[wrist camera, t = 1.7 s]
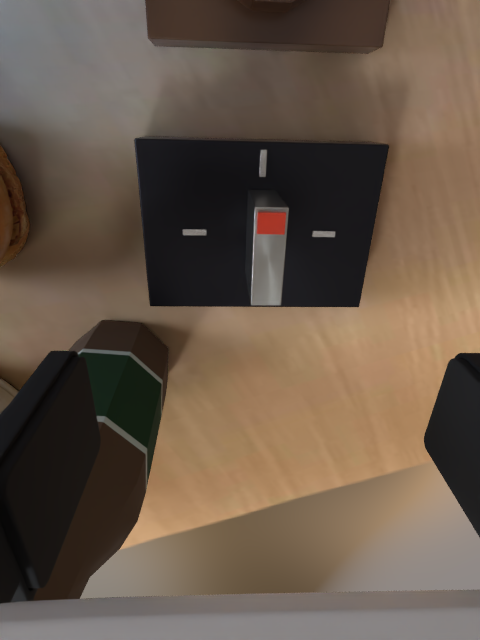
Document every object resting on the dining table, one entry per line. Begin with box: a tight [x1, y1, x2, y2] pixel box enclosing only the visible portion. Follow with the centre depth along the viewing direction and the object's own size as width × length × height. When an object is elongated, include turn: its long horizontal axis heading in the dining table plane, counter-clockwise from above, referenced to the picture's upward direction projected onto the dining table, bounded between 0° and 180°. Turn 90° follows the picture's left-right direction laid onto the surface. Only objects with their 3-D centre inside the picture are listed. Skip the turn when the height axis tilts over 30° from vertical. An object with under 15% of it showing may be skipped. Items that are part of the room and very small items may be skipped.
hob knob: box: [245, 190, 289, 305], centre depth 21 cm, size 5×2×5 cm, turn 179°
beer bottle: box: [33, 320, 169, 601], centre depth 20 cm, size 8×8×24 cm
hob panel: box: [134, 136, 389, 307], centre depth 24 cm, size 14×10×3 cm
